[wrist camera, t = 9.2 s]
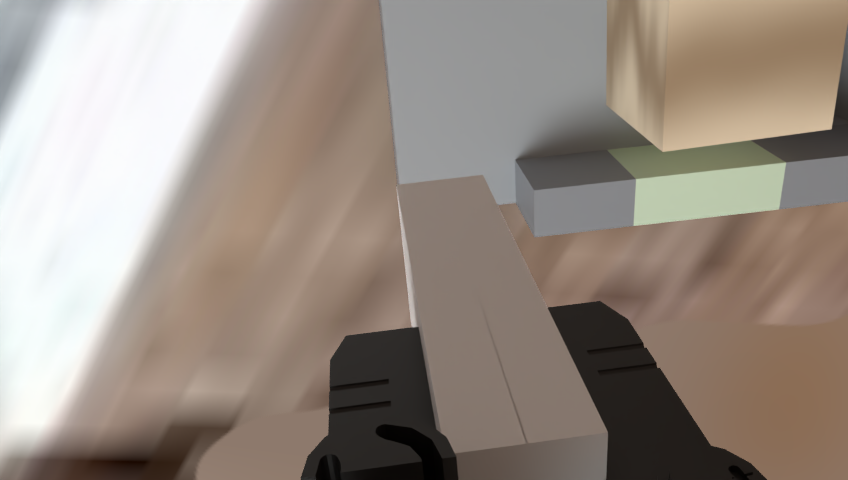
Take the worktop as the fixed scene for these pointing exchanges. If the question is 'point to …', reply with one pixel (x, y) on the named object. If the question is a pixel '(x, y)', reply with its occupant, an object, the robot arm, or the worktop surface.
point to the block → (724, 68)
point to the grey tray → (572, 123)
